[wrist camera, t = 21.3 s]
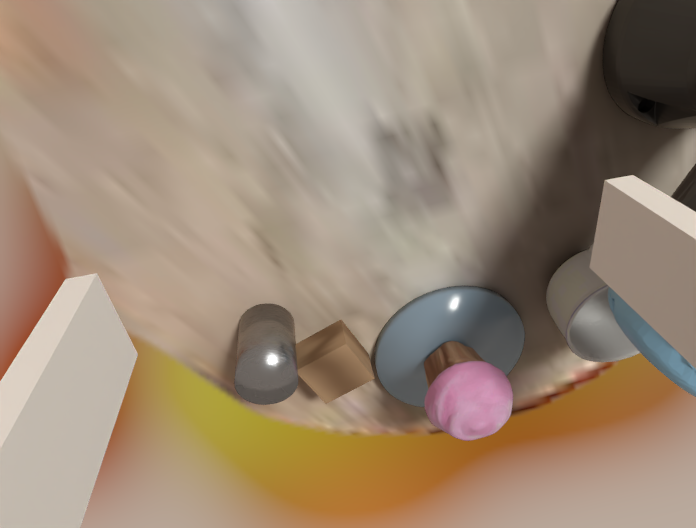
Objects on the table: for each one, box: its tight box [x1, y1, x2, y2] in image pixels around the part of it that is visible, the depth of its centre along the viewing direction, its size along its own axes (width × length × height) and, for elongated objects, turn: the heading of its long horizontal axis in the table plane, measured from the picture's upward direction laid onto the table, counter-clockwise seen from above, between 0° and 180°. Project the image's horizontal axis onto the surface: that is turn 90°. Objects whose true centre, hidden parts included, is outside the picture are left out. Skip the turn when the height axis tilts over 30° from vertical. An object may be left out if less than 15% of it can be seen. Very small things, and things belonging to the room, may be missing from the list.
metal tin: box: [235, 304, 298, 405], centre depth 46 cm, size 6×6×8 cm
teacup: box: [546, 243, 640, 362], centre depth 48 cm, size 14×11×8 cm
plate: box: [374, 286, 525, 407], centre depth 54 cm, size 17×17×1 cm
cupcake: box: [424, 341, 513, 441], centre depth 49 cm, size 9×9×10 cm
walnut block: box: [296, 320, 375, 403], centre depth 51 cm, size 6×6×4 cm
